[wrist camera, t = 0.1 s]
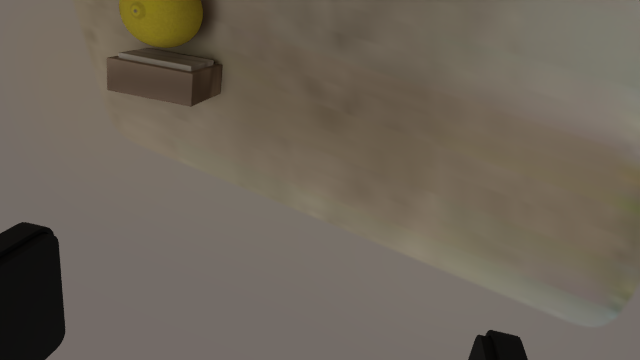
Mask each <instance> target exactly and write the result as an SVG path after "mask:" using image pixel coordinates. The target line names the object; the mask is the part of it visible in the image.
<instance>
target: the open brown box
mask: <svg viewBox="0 0 640 360" xmlns="http://www.w3.org/2000/svg"><path fill="white" fill-rule="evenodd" d="M221 77H222V65H220V64H215V63H214V60H210V59H204V58H199V57H193V56H188V55H183V54H177V53H172V52H167V51H161V50H156V49H150V48H146V49H139V50H133V51H126V52H120V53H119V56H114V57H108V58H107V89H108V90H111V91H116V92H121V93H126V94H131V95H136V96H141V97H146V98H151V99H156V100H161V101H166V102H171V103H176V104H181V105H186V106H193V105H195V104H198V103H200V102H202V101H204V100H207V99H209V98H211V97H213V96H215V95H218V94H220V91H221Z"/></svg>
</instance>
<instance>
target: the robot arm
mask: <svg viewBox="0 0 640 360" xmlns="http://www.w3.org/2000/svg"><path fill="white" fill-rule="evenodd" d="M64 335H65V320H64V308H63V294H62V281H61V268H60V256H59V242H58V239H57V237H56V236H54V234H53V232H52V230H51V229H50V228H47V227H44V226H40V225H35V224H30V223H26V222H25V223H24V222H22V223H19V224H17V225H15V226H13V227H11V228H10V229H8V230H6V231H4V232H2V233H1V234H0V360H45V359H46V358H47V357H48V356H49V355H50V354H51V353H53V352H54V351H55V350H56V349H57V348H58V346H59V345H60V344H61V342H62V340H63V338H64ZM468 360H528V359H527V356H526V353H525V350H524V347H523V344H522V341H521V339H520V337H518V336H514V335H510V334H506V333H502V332H497V331H493V330H489V331H488V332H487V333H486V336H482V335H477V337H476V339H475V341H474V344H473V347H472V350H471V353H470V356H469V359H468Z"/></svg>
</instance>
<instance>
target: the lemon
mask: <svg viewBox="0 0 640 360" xmlns="http://www.w3.org/2000/svg"><path fill="white" fill-rule="evenodd" d="M119 9H120V15H121V18H122V21H123V23H124V24H125V26H126V28H127V29H128V31H129V32H130V33H131V34H132V35H133V36H134V37H136V38H137V39H139V40H140V41H142V42H144V43H146V44H149V45H151V46H155V47H162V48H170V47H176V46H180V45H182V44H184V43H186V42H188V41H189V40H190V39H192V38H193V37H194V36H195V35H196V33H197V32H198V30H199V28H200V26H201V23H202V19H203V8H202V3H201V0H120V2H119Z"/></svg>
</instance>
